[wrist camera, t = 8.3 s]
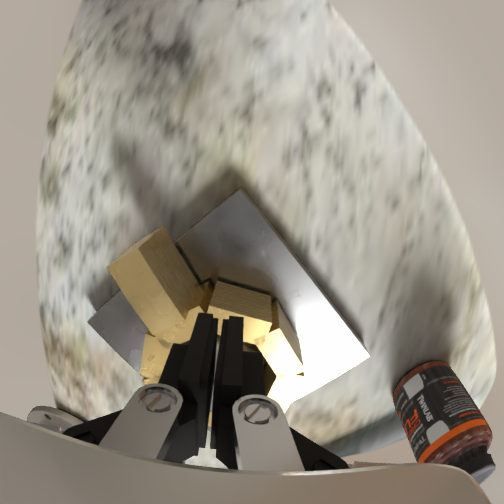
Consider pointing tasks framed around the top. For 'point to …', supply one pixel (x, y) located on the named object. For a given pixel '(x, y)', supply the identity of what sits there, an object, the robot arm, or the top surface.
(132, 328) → the spindle plate
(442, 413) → the supplement bottle
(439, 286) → the top surface
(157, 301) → the segmented octagonal ring
